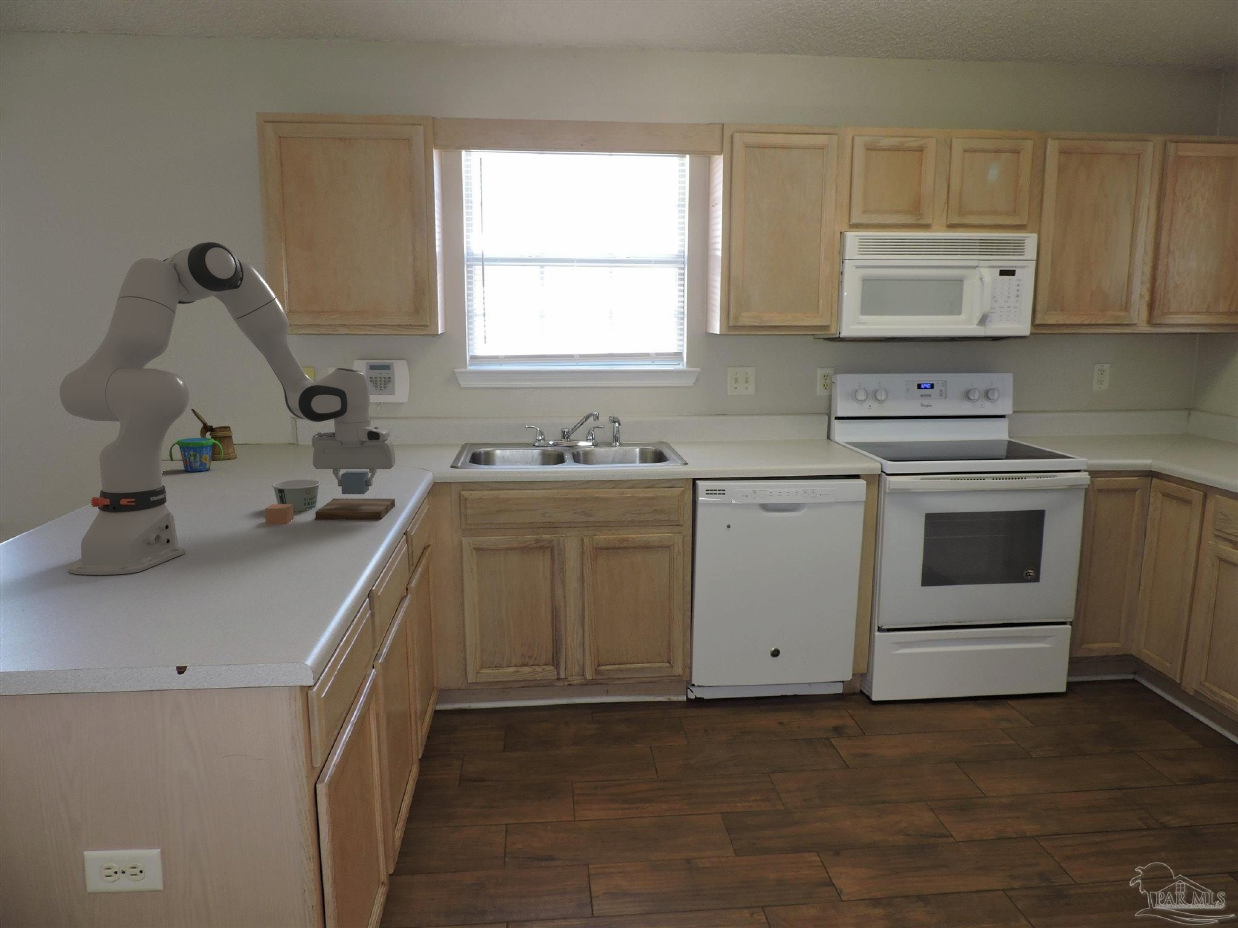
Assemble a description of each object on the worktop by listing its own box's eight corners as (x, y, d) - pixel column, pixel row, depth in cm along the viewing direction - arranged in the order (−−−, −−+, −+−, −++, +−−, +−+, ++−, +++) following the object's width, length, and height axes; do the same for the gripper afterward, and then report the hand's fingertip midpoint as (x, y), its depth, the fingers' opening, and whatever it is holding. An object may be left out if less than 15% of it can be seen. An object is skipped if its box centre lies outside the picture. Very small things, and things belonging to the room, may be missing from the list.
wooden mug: (196, 457, 308) (192, 407, 305) (237, 456, 312) (234, 406, 309) (193, 461, 299) (189, 409, 297) (236, 459, 304) (233, 408, 301)
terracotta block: (287, 524, 211) (286, 508, 210) (266, 524, 211) (265, 508, 210) (293, 519, 216) (293, 504, 215) (273, 519, 216) (272, 504, 215)
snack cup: (226, 467, 290) (224, 436, 288) (220, 472, 279) (218, 441, 278) (175, 468, 286) (173, 437, 284) (167, 474, 276) (164, 442, 274)
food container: (305, 513, 222) (304, 488, 221) (263, 511, 224) (262, 486, 223) (330, 504, 234) (329, 480, 233) (289, 502, 236) (288, 478, 235)
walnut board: (380, 519, 216) (380, 511, 216) (315, 519, 216) (315, 511, 215) (395, 505, 232) (394, 498, 232) (334, 505, 231) (334, 498, 231)
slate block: (363, 494, 220) (363, 474, 220) (341, 494, 220) (340, 474, 219) (369, 489, 226) (368, 470, 225) (347, 489, 226) (346, 470, 225)
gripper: (307, 434, 217) (310, 488, 219) (390, 434, 218) (392, 488, 220) (315, 430, 223) (318, 483, 226) (395, 430, 224) (397, 483, 226)
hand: (355, 486), depth 223 cm, fingers closed on slate block, 5 cm apart
